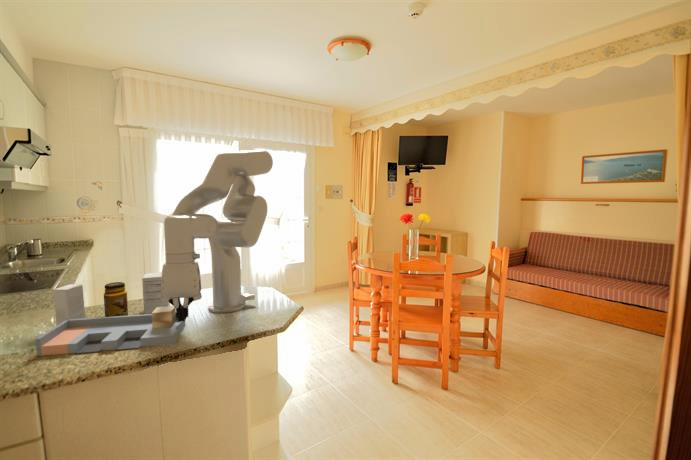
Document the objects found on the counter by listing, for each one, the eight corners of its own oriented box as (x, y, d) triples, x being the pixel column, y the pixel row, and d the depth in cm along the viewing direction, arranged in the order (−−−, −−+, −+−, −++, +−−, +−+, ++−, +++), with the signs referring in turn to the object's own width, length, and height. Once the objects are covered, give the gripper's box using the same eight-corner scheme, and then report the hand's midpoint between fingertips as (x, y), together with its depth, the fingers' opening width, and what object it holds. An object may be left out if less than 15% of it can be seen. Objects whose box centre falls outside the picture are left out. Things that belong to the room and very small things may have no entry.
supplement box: (146, 308, 117) (145, 273, 115) (170, 305, 120) (168, 271, 118) (143, 315, 110) (141, 277, 109) (168, 312, 113) (166, 276, 111)
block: (176, 320, 99) (175, 305, 99) (171, 326, 94) (171, 311, 94) (157, 321, 98) (156, 307, 97) (152, 328, 93) (151, 313, 92)
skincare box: (72, 320, 104) (70, 283, 103) (86, 321, 104) (83, 284, 103) (55, 328, 98) (52, 289, 97) (69, 328, 98) (66, 289, 97)
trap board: (185, 325, 101) (184, 311, 101) (173, 345, 88) (172, 329, 87) (67, 334, 94) (66, 319, 94) (34, 357, 80) (32, 340, 80)
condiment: (129, 321, 104) (127, 284, 103) (96, 327, 99) (93, 288, 98) (129, 314, 110) (127, 279, 109) (98, 319, 105) (95, 283, 104)
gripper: (209, 255, 101) (211, 313, 102) (155, 256, 97) (158, 317, 99) (206, 259, 93) (207, 322, 95) (147, 261, 90) (150, 326, 91)
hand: (182, 319), depth 97 cm, fingers closed
